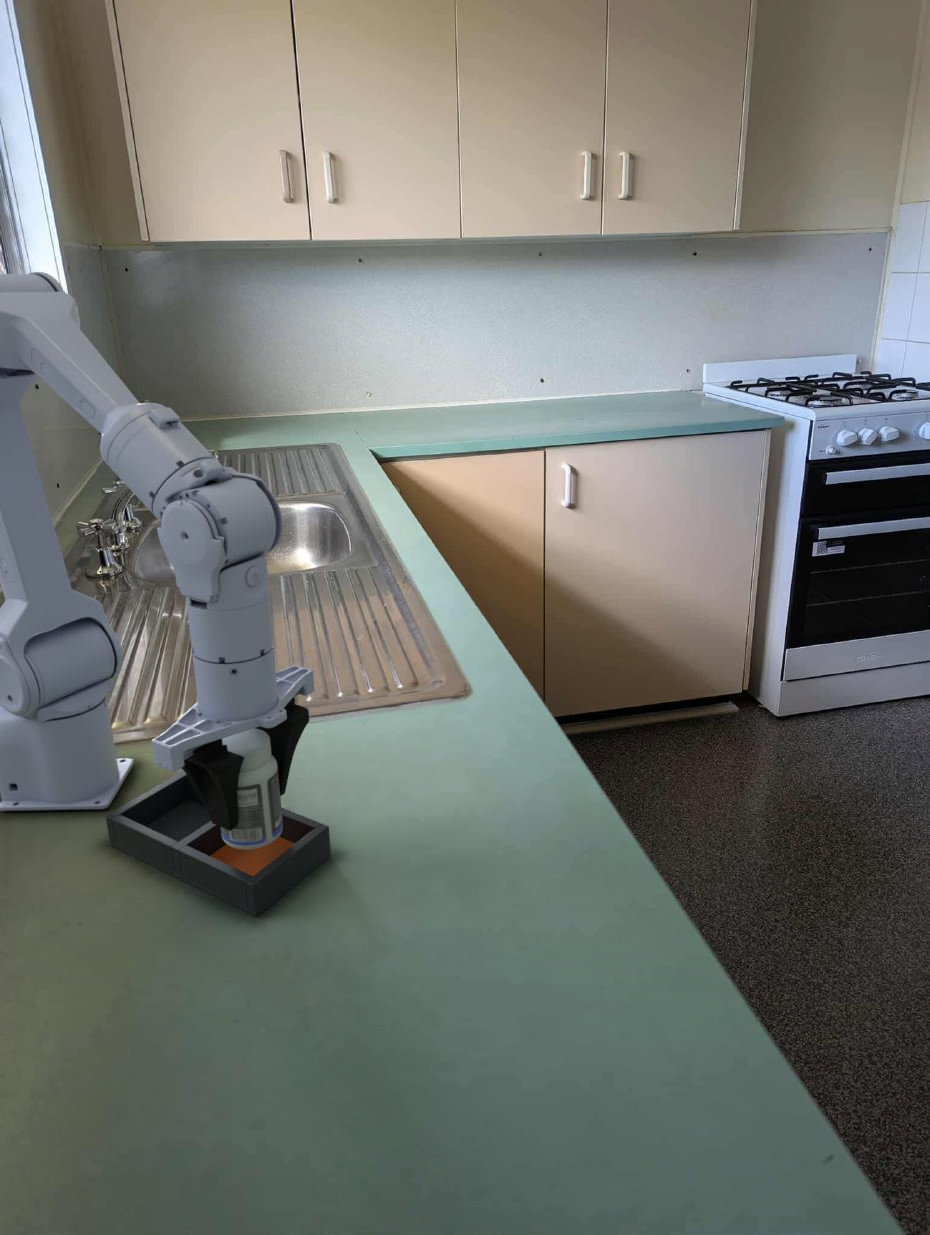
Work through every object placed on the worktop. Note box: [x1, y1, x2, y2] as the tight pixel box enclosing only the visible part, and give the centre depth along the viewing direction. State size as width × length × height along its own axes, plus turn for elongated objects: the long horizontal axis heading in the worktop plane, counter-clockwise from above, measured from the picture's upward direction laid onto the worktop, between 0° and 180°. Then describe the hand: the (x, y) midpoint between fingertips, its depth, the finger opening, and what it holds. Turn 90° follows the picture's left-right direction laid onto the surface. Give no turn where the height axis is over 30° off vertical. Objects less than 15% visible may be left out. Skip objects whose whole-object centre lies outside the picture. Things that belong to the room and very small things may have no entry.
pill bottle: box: [221, 728, 283, 850], centre depth 67 cm, size 5×5×8 cm
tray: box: [105, 770, 332, 918], centre depth 71 cm, size 16×9×3 cm, turn 59°
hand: (248, 807), depth 68 cm, fingers closed on pill bottle, 5 cm apart
